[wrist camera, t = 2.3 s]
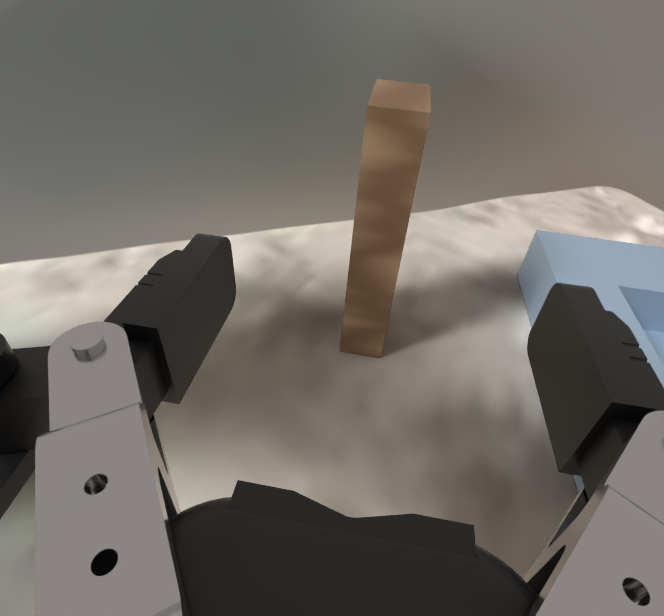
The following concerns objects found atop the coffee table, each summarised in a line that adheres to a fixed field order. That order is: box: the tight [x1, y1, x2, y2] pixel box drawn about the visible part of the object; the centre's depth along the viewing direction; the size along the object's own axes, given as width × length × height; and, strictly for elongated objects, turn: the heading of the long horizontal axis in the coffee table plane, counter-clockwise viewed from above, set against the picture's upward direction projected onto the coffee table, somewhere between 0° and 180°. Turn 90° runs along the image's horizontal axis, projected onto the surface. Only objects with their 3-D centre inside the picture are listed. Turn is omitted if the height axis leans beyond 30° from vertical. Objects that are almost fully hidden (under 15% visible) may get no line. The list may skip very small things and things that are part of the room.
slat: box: [340, 79, 431, 358], centre depth 23 cm, size 2×4×14 cm, turn 170°
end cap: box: [517, 230, 664, 493], centre depth 25 cm, size 12×18×4 cm, turn 170°
